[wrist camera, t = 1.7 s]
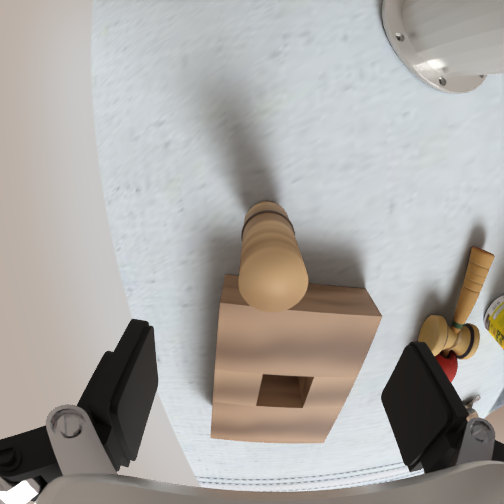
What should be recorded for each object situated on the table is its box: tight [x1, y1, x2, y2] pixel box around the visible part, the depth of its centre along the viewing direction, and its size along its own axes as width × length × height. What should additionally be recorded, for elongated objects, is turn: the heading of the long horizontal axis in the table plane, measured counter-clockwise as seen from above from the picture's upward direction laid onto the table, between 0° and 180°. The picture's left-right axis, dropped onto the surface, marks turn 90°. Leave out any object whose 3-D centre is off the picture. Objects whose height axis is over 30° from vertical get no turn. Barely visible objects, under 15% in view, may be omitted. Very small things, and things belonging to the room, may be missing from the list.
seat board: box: [211, 274, 382, 443], centre depth 31 cm, size 20×14×5 cm
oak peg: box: [238, 201, 308, 312], centre depth 22 cm, size 4×4×12 cm
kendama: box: [418, 247, 494, 382], centre depth 29 cm, size 8×6×18 cm
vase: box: [465, 396, 480, 421], centre depth 37 cm, size 5×5×6 cm
